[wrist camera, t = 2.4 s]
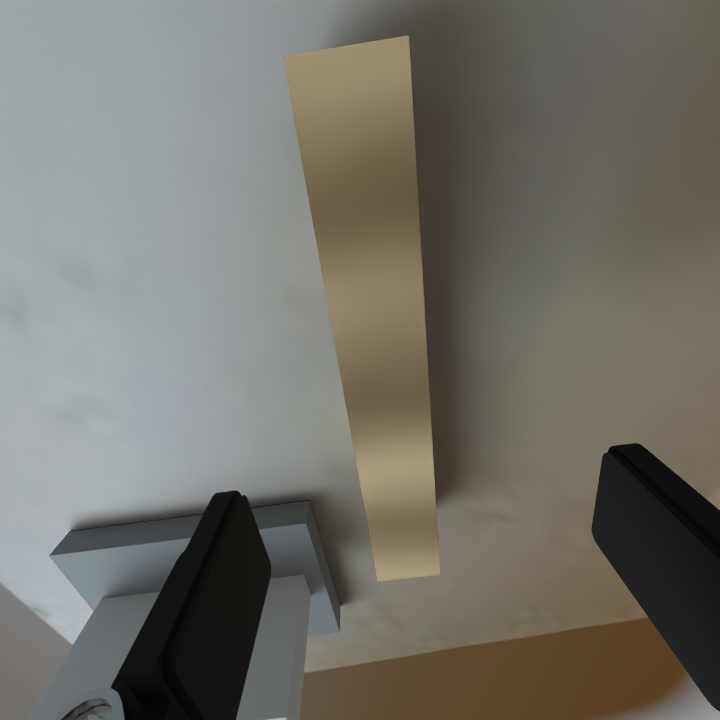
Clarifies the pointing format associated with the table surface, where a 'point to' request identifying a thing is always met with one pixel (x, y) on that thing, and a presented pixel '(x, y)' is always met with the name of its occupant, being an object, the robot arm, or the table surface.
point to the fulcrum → (146, 579)
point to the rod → (373, 281)
